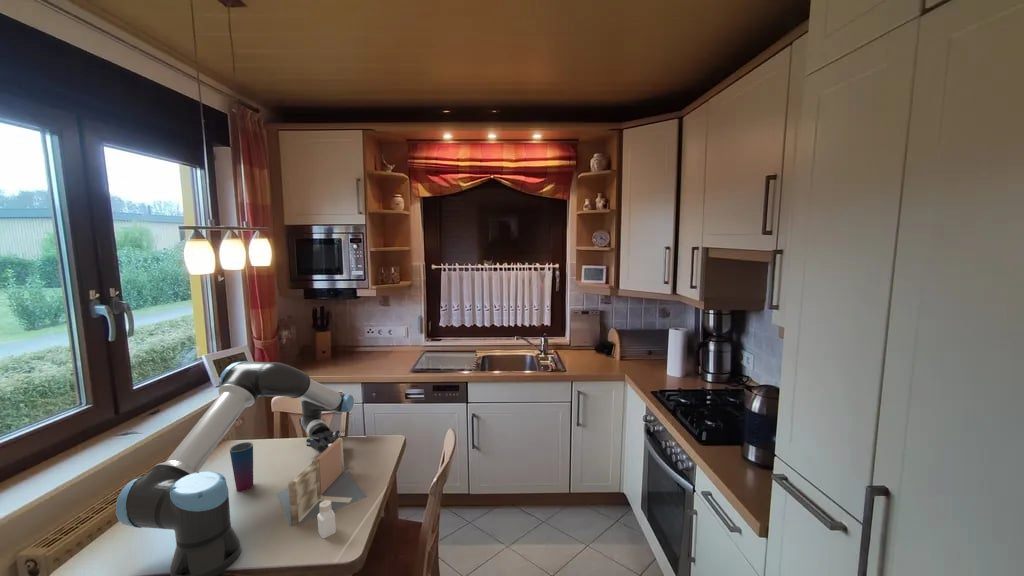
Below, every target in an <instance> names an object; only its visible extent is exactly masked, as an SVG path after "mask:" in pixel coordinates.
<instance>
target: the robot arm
mask: <svg viewBox="0 0 1024 576" xmlns="http://www.w3.org/2000/svg"><path fill="white" fill-rule="evenodd" d="M219 378H220V380H218V391H217V392H218V397H216V399H215V400H214V401H213V403H211V405H210V406H209V407H208V409H207V410H206V411H205V412H204V414H203V415H202V416H201V418H200V419H199V420H198V421H197V422H196V424H195V425H194V426H193V427H192V428H191V430H190V431H189V432H188V433H187V435H185V437H184V439H182V441H181V442H180V443H179V445H178V446H177V447H176V448H175V449H174V451H173V452H172V453H171V455H169V457H168V458H167V459H166V461H164V462H161V463H157V464H155V465H154V466H153V467H152V469H150V471H149V472H148V473H147V474H146V475H145V476H139V477H137V478H134V479H133V480H131V481H129V482H128V483H127V484H126V485H125V486H124V487H123V488H122V490H121V491H120V493H119V495H118V497H117V499H116V504H115V507H116V509H115V515H116V518H117V520H118V521H119V523H121V524H122V525H124V526H128V527H132V528H138V529H142V528H146V529H148V528H149V529H160V530H161V529H162V530H173V531H174V535H175V543H176V544H175V549H174V553H173V557H172V560H171V563H170V567H169V573H170V576H220V574H222V573H223V572H224V571H227V569H229V568H230V567H231V566H232V565H233V564H234V563H236V561H237V560H238V558H239V557H240V555H241V552H242V546H241V540H240V538H239V537H238V535H237V534H236V532H235V530H234V528H233V526H232V523H231V511H230V497H229V495H230V494H229V493H230V491H229V486H228V484H227V479H226V477H225V476H224V475H223V474H221V473H220V472H217V471H211V470H205V471H200V470H201V469H202V468H203V466H204V464H205V463H206V461H207V460H208V459H209V457H210V456H211V455H212V454H213V452H214V451H215V450H216V448H217V446H218V445H219V443H220V442H222V440H223V439H224V437H225V436H226V434H227V433H228V432H229V430H230V429H231V427H232V426H233V424H234V423H235V422H236V420H237V419H238V418H239V416H240V415H241V414H242V412H243V411H244V409H245V408H248V407H251V406H254V404H255V403H256V401H257V399H258V398H259V397H287V398H290V399H301V400H300V402H301V412H302V413H301V414H302V417H301V419H300V423H301V424H300V425H301V427H302V428H303V430H304V431H305V433H306V434H307V435H308V437H309V438H306V447H310V448H311V449H314V450H315V451H316V452H319V453H322V452H324V451H325V450H326V449H327V448H328V447H329V446H330V445H331V444H332V443H334V442H335V441H336V440H337V439H338V438H341V433H340V430H336V431H333V430H331V429H330V428H329V427H328V425H327V424H326V422H325V421H324V420H323V417H322V416H323V415H322V413H323V412H327V413H329V412H331V413H332V412H333V413H350V412H351V411H352V409H354V408H353V407H354V404H355V399H354V396H353V395H352V394H349V393H341V392H338V391H336V390H335V389H332V388H330V387H328V386H326V385H324V384H322V383H320V382H318V381H315V380H313V379H312V378H311V376H310V375H309V374H308V373H306V372H304V371H302V370H300V369H298V368H296V367H293V366H291V365H288V364H286V363H282V362H275V361H272V362H269V361H250V360H244V361H237V362H233V363H231V364H229V365H227V367H226V368H225V369H224V370H223V371H222V372H221V374H220V376H219ZM333 437H334V439H335V440H333ZM198 471H200V472H198ZM197 472H198V473H197Z"/></svg>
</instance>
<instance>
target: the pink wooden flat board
mask: <svg viewBox="0 0 1024 576" xmlns="http://www.w3.org/2000/svg"><path fill="white" fill-rule="evenodd" d="M343 446H344V445H343V438H342V437H339V438H338V439H337V440H336V441H335V442H334V443H332V444H331V445H330V446H329V447H328V448H327V449H326V450H325V451H322V452H320V454H319V455H318V456H317V457H316V458H315V460H318V461H319V475H320V490H321V495H322V494H323V493H324V492H325V490H326V489H327V488H328V487H329V486H330V485H331V484H332V483H333V482H334V481H335V480H336V479H337V477H338V476H339V475H340V474H341V473H342V472H344V469H345V462H344V447H343Z"/></svg>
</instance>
